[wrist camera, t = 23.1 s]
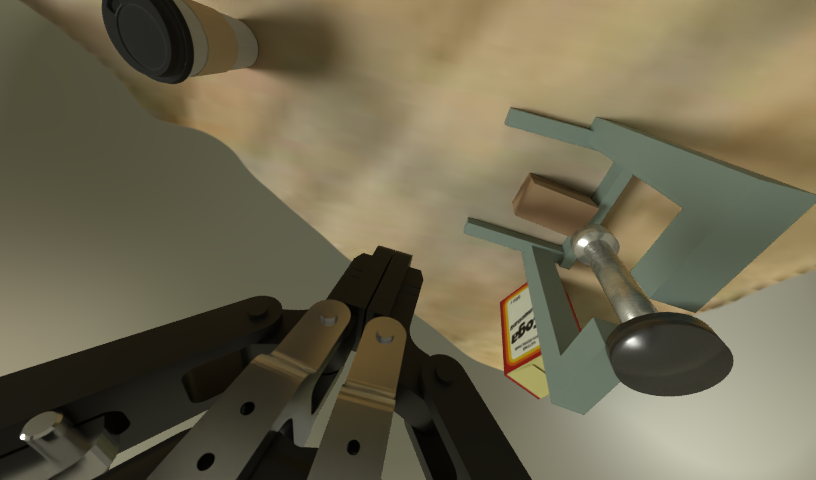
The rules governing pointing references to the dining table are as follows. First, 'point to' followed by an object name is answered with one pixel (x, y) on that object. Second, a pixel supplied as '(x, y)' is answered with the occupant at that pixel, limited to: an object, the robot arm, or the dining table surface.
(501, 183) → the dining table surface
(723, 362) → the ram
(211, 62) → the coffee cup
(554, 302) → the frame
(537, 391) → the baking soda box
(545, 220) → the block
